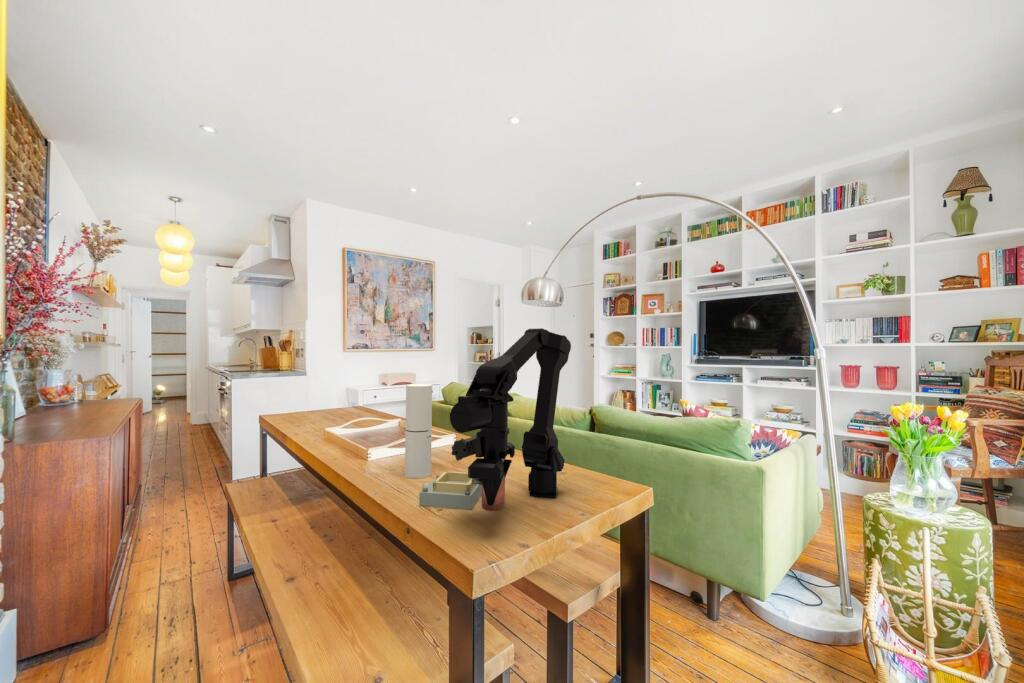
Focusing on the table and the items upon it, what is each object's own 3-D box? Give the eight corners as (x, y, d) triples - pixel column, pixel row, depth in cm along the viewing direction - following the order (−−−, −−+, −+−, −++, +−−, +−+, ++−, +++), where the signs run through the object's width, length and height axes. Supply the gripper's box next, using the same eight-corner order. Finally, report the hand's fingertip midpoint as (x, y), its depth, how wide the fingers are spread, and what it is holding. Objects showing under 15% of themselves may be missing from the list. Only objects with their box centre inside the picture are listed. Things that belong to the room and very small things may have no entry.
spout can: (506, 503, 87) (506, 469, 87) (502, 512, 82) (502, 477, 82) (474, 500, 88) (475, 468, 88) (468, 509, 83) (469, 475, 84)
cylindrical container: (400, 474, 115) (401, 384, 116) (422, 469, 120) (423, 383, 121) (413, 480, 110) (414, 386, 110) (435, 474, 115) (437, 385, 115)
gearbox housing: (482, 492, 101) (482, 472, 102) (470, 509, 91) (471, 486, 91) (429, 488, 104) (430, 468, 104) (412, 505, 93) (412, 483, 93)
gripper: (468, 416, 96) (467, 483, 96) (442, 432, 77) (441, 515, 77) (515, 417, 94) (514, 486, 94) (500, 435, 76) (499, 520, 75)
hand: (493, 500), depth 85 cm, fingers closed on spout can, 5 cm apart
